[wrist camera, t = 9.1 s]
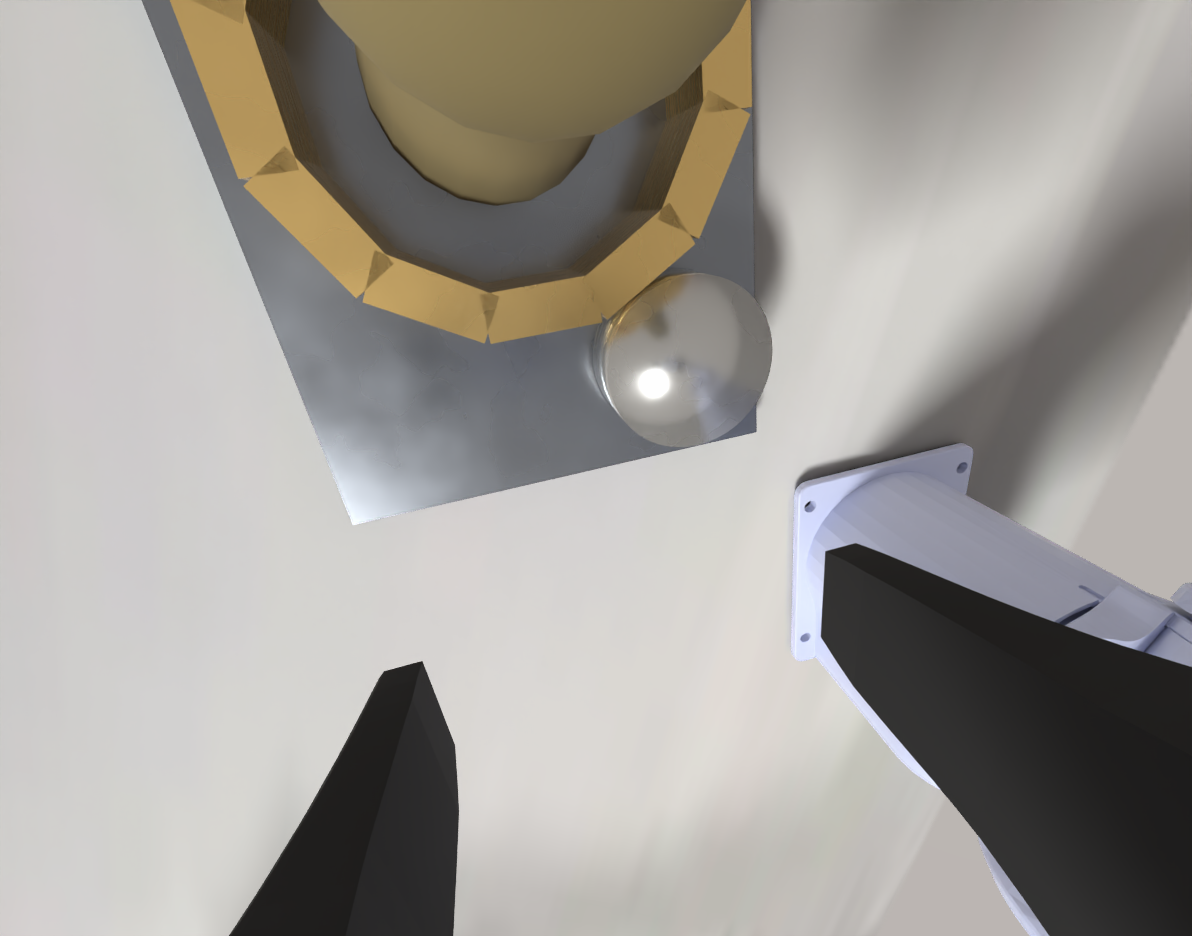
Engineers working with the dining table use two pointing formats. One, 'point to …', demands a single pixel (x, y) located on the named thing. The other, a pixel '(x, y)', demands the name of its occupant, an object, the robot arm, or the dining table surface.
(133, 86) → the dining table surface
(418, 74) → the cork
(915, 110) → the dining table surface
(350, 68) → the flanged metal plate
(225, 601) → the dining table surface
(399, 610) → the dining table surface
